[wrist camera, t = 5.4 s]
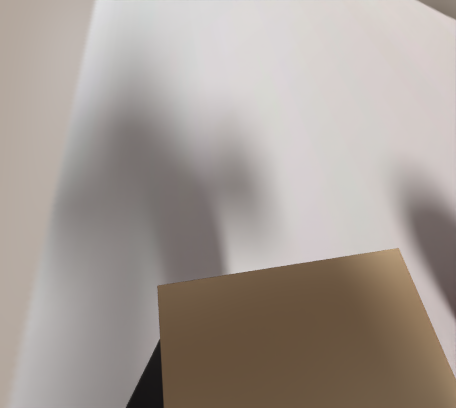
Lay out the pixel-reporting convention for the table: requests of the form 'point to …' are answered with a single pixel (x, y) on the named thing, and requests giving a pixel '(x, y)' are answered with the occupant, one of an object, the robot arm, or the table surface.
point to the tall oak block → (303, 338)
